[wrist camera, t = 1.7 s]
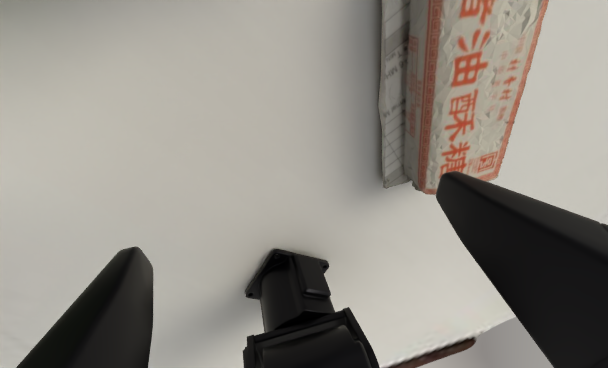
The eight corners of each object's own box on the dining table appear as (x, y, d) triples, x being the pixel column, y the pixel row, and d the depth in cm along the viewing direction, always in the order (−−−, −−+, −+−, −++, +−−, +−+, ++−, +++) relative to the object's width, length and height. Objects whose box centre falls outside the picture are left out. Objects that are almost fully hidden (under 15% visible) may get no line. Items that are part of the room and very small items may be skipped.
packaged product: (525, 180, 22) (408, 216, 21) (478, 152, 26) (378, 182, 25) (652, -175, 11) (432, -138, 10) (542, -131, 15) (373, -101, 14)
